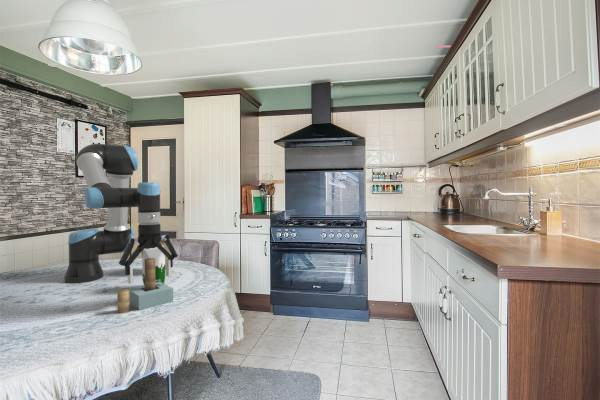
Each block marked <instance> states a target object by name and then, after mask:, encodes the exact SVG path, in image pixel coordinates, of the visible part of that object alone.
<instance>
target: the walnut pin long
mask: <svg viewBox="0 0 600 400" xmlns="http://www.w3.org/2000/svg"><path fill="white" fill-rule="evenodd" d="M155 289H156V281H155V259H154V258H150V259H145V292H146V291H150V290H155Z"/></svg>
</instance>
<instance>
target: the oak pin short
mask: <svg viewBox="0 0 600 400" xmlns="http://www.w3.org/2000/svg"><path fill="white" fill-rule="evenodd" d="M116 295H117V299H116V300H117V313H118V314H125V312H126V313H128V312H130V308H131V306H130V305H131V304H130V299H129V290H128V288H127V289H120V290H117V294H116Z"/></svg>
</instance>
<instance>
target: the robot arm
mask: <svg viewBox="0 0 600 400" xmlns="http://www.w3.org/2000/svg"><path fill="white" fill-rule="evenodd" d="M75 163H76V166H77V168H78V169H79V170H80V171H81V172H82V176H83V178H84V180H85V184H86V187H87V188H85V189H84V195H83V196H84V206H85V207H86V208H88V209H107V221H106V222H107V223H106V224H105V225H104V226H103V230H99V229H98V228H95V227H92V228H85V229H80V230H76V231H73V232H71V233H70V234H69V235H68V240H67V241H68V242H67V244H68V265H67V269H66V272H65V273H64V282H65V283H67V284H70V283H71V284H79V283H85V282H93V281H96V280H99V279H101V278H103V277H104V271H103V270H104V269H103V268H102V265H101V263H100V261H99V260H100V259H99V258H100V257H99V256H102V255H109V254H110V255H111V254H117V253H118V254H120V253H121V257H120V259H119V261H118V264H119V265H120V266H122V267H123V266H124V274H125V276H127V283H128V284H129V285H133V284H134V282H133V281H134V275H133V274H134V271H133V269H134V268H133V265H132V264H133V262H135V260H136V259H137V258H138V256H139V255H140V254H141V251H143V250H144V249H149V248H155V247H157V248H158V249H159V250H160V251H161V252H162V253H163V254H164V255H165V256H166V257H167V258H168V259H166V270H165V277H168V278H170V277H171V276H172V275H171V273H172V271H171V270H172V269H171V268H173V267H174V260H175V258H177V257H178V253H177V251H176V250H175V248H174V246H173V244H171V242H170V240H171V239H170V236H169V234H163V235H162V234H161V231H162V230H161V224H160V223H161V188H160V187H161V186H160V184H159V183H158V182H149V181H148V182H138V183H137V187H130V178H131V177H132V176H134V172H136V171H138V169H139V168H138V167H139V160H138V154H137V152H136V150H135V148H133V147H132V146H127V145H118V144H104V143H92V144H89V145H86V146H84V147H83V148H81V149H80V150H79V151H78V152H77V154H76V158H75ZM129 208H137V223H138V225H137V228H138V229H137V231H138V233H137V234H138V235H137V238H135V232H134V229H133V228H131V226H130V224H128V216H129ZM161 240H163V241H164V242H165V244H166V245H167V247H168V249H169V251H170V253H169V252H168V251H167V250H166V249H165V248H164V247H163V246H162V245H161V244H160V243H159V242H160V241H161ZM137 243H138V245H137V246H136V249H135V250H134V251H133V252H132V250H133V248H134V246H135V245H136V244H137ZM131 252H132V253H131Z"/></svg>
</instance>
